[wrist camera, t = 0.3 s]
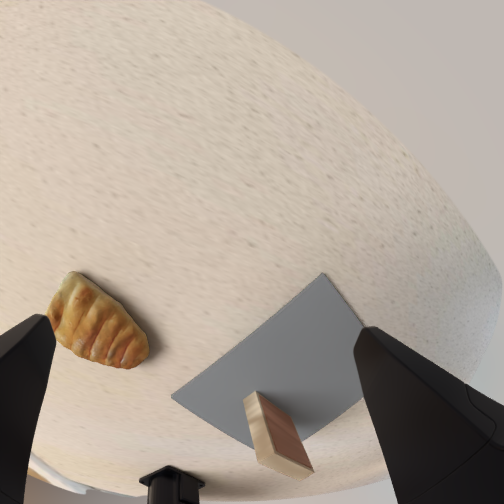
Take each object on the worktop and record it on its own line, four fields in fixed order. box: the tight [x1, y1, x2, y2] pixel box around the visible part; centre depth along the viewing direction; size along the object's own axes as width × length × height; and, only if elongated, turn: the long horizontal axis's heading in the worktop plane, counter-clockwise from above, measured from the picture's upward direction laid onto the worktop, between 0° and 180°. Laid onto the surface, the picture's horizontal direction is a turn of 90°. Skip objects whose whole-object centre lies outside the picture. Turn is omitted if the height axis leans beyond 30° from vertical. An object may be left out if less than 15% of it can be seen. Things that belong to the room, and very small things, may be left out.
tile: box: [243, 391, 315, 481], centre depth 23 cm, size 2×6×8 cm, turn 40°
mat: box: [171, 273, 364, 450], centre depth 27 cm, size 18×16×1 cm
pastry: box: [45, 271, 150, 369], centre depth 21 cm, size 9×7×4 cm
